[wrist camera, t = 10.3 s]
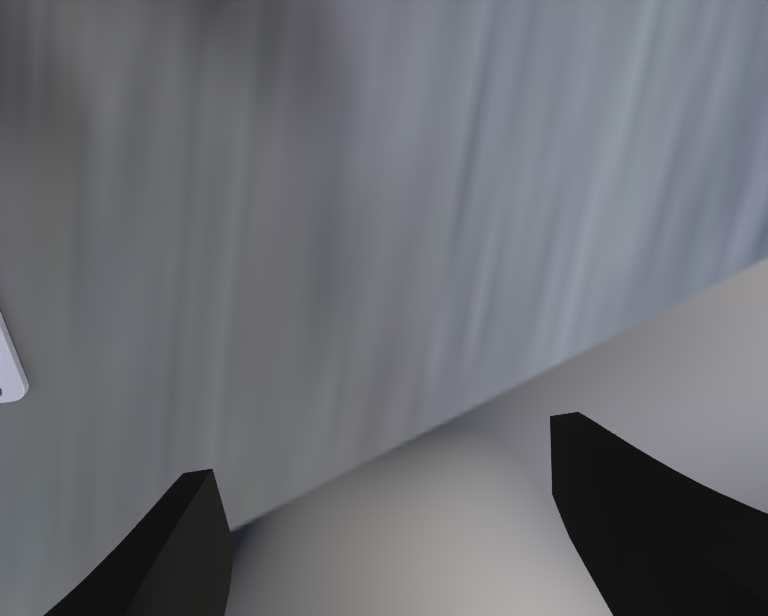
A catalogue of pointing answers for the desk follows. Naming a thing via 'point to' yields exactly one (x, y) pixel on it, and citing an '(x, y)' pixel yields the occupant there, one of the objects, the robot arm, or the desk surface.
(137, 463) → the desk surface
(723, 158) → the desk surface
